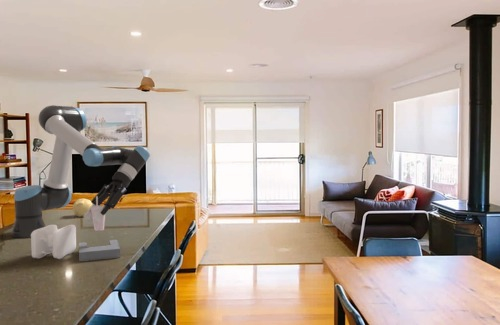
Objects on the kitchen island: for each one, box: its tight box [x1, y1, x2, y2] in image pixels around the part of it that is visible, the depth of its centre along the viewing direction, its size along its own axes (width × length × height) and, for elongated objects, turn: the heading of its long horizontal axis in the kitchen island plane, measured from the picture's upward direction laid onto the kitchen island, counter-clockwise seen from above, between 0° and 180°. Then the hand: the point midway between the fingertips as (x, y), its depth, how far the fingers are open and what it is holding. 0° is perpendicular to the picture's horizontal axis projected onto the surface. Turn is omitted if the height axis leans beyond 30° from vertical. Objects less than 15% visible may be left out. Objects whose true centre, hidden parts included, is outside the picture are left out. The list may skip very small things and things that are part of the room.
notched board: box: [78, 239, 121, 262], centre depth 170 cm, size 16×15×4 cm
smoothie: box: [90, 195, 106, 232], centre depth 172 cm, size 6×6×14 cm
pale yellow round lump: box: [72, 197, 93, 218], centre depth 252 cm, size 12×12×11 cm
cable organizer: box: [30, 224, 77, 260], centre depth 167 cm, size 15×11×12 cm
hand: (90, 219), depth 169 cm, fingers closed on smoothie, 6 cm apart
